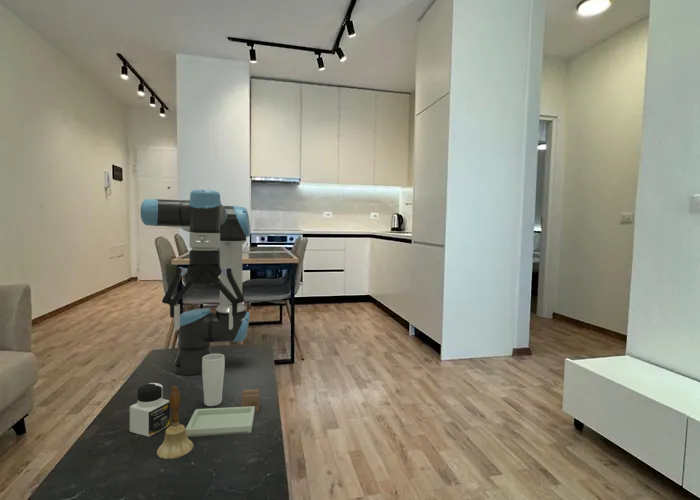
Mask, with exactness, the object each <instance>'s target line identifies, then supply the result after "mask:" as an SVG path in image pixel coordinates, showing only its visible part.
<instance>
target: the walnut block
mask: <svg viewBox="0 0 700 500" xmlns="http://www.w3.org/2000/svg"><path fill="white" fill-rule="evenodd" d="M260 391H261V390H260V389H257V388H256V389H244V390H243V389H242V394H241V399H240V400H241V401H240V402H241V405H240V407H249V406H255V413H259V409H260V394H261V393H260Z"/></svg>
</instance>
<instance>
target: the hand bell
mask: <svg viewBox="0 0 700 500" xmlns="http://www.w3.org/2000/svg"><path fill="white" fill-rule="evenodd" d="M180 392H181V391H180V389H179V388H178V385H174V386H172V387H171V390H170V393H169V397H168V398H169V399H168V400H169V404H170V412H171V425H169V426H167V427H166V430H165V434H164V438H163V439H164V440H163V441H162V444H161V445H159V447H158V448H157V450H156V456H158V457H159V458H160V459H164V460H173V459H178V458H182V457H184V456H185V455H187V454H189V453H190V452H191V451H192V450H194V449H193V448H194V443H193V442H192V440H191V439H189V437H187V435H186V430H185V429H186V427H185V425H184V424H181V423H180V416H179V415H180V414H179V409H180V406H181V398H182V397H181V393H180Z"/></svg>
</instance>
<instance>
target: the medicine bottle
mask: <svg viewBox="0 0 700 500" xmlns="http://www.w3.org/2000/svg"><path fill="white" fill-rule="evenodd" d="M163 388H164V385H162V384H161V383H158V382H149V383H146V384H143V385H141V386H140V387H139V388H138V389H137V402H136V403H134V404H132V405H130V406H129V432H130V433H133V434H137V435H141V436H145V437H148V438H150V437H152V436H153V435H155V434H156V433H159V432H160V431H162V430H163V429H165V428H168V427H170V426H171V408H170V404H169V399H165V398H163V395H164V394H163V390H164V389H163Z"/></svg>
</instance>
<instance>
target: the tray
mask: <svg viewBox="0 0 700 500" xmlns="http://www.w3.org/2000/svg"><path fill="white" fill-rule="evenodd" d="M255 413H256V412H255V406H249V407H241V406H232V407H216V408H215V407H213V408H210V407H209V408H196V409H195V410H194V412H193V413H192V415H191V418H190V419H189V421H188V424H187V425H186V427H185V430H186V435H187V438H198V437H211V436H213V437H214V436H227V435H228V436H230V435H242V434H243V435H244V434H245V435H246V434H252V430H253V425H254V418H255Z"/></svg>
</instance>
